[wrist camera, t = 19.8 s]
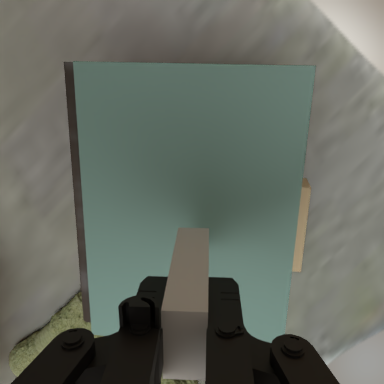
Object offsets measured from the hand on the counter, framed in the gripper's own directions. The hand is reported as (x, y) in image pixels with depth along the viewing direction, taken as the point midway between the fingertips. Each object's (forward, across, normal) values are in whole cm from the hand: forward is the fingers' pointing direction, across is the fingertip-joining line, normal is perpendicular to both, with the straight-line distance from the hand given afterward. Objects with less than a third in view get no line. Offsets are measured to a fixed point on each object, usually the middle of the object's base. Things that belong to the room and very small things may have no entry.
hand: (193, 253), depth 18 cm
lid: (+5, 0, 0) cm, 5 cm away
